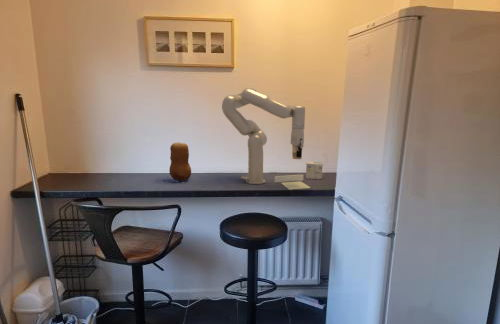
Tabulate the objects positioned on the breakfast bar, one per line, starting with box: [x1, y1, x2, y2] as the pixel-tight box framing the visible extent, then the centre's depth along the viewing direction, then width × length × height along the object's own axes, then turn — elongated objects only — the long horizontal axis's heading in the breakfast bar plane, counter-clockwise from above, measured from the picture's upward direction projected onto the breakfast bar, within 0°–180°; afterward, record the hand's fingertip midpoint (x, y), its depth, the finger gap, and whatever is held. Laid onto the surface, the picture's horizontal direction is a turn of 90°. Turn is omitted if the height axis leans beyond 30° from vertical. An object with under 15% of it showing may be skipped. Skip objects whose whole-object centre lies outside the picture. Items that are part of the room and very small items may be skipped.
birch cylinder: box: [292, 145, 303, 160], centre depth 190 cm, size 6×6×8 cm
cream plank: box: [274, 174, 304, 183], centre depth 204 cm, size 20×1×4 cm, turn 105°
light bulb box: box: [305, 161, 323, 180], centre depth 212 cm, size 11×7×11 cm, turn 84°
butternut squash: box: [168, 142, 192, 182], centre depth 200 cm, size 14×13×25 cm
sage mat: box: [280, 181, 311, 191], centre depth 194 cm, size 14×14×1 cm
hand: (296, 155), depth 190 cm, fingers closed on birch cylinder, 5 cm apart
